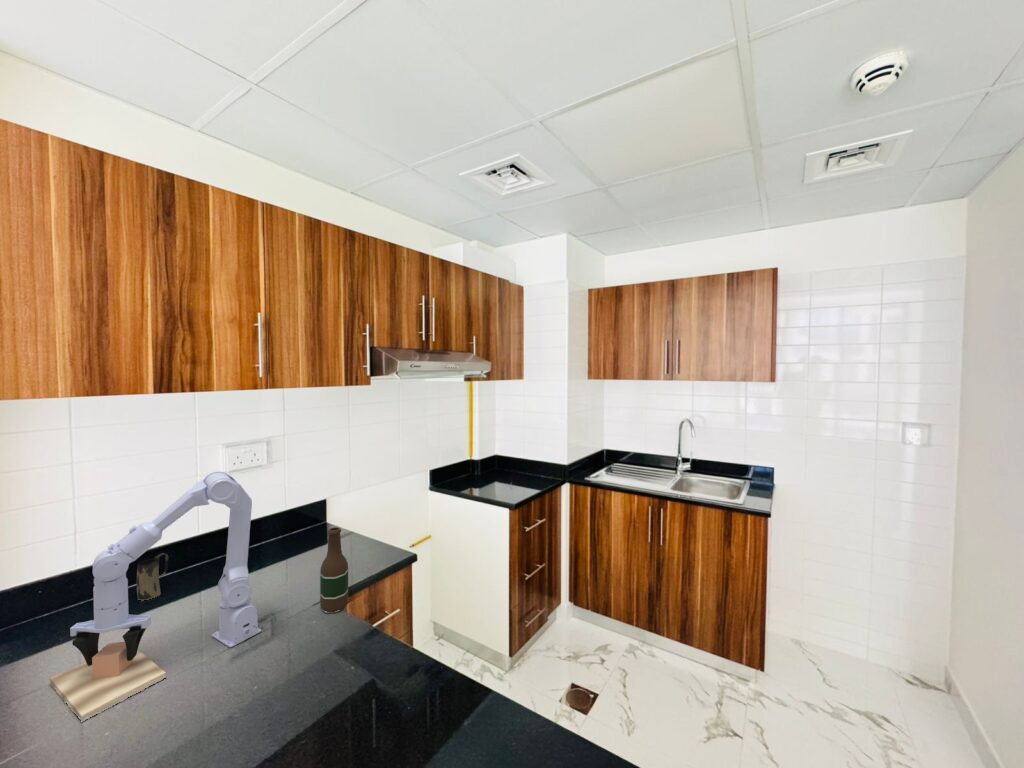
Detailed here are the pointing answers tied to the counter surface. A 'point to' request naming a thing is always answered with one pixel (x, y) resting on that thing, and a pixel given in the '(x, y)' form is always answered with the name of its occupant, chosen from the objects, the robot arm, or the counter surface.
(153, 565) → the mug
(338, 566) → the beer bottle
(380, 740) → the counter surface
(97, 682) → the birch board
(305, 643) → the counter surface
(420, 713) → the counter surface
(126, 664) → the terracotta cube
